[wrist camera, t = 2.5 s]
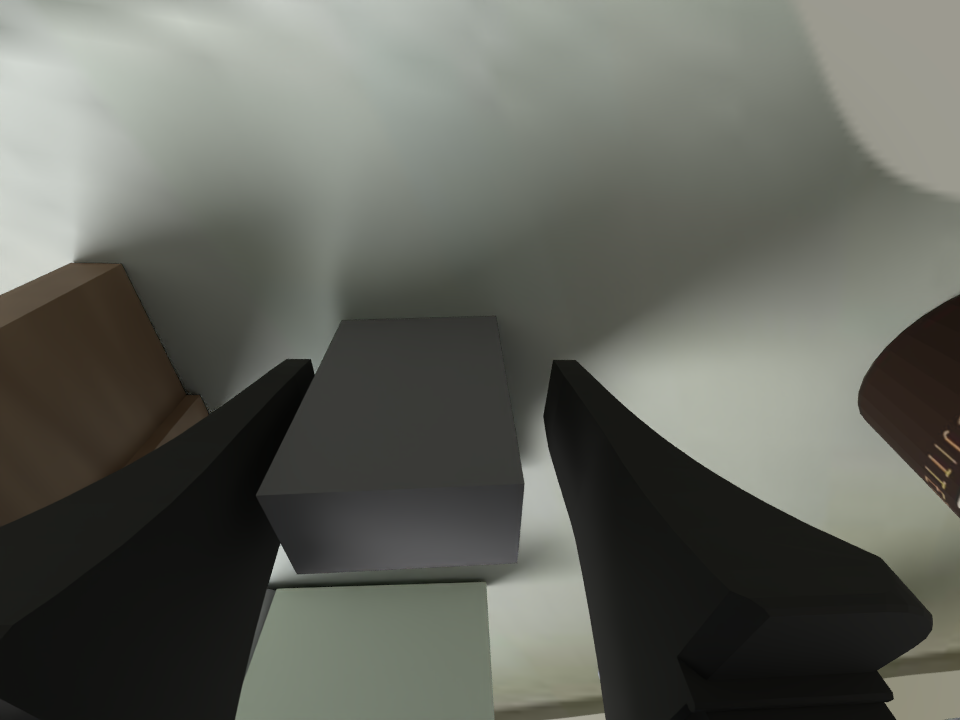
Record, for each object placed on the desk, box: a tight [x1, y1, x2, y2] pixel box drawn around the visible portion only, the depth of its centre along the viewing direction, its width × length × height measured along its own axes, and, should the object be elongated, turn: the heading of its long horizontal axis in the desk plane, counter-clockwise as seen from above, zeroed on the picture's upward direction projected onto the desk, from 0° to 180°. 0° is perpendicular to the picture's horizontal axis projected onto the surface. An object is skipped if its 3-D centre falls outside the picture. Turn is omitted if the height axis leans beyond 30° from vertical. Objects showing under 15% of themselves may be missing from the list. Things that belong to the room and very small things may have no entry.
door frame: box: [0, 263, 209, 527], centre depth 14 cm, size 2×26×8 cm, turn 178°
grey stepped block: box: [256, 316, 524, 574], centre depth 11 cm, size 7×4×6 cm, turn 0°
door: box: [235, 582, 494, 720], centre depth 17 cm, size 11×1×6 cm, turn 88°
